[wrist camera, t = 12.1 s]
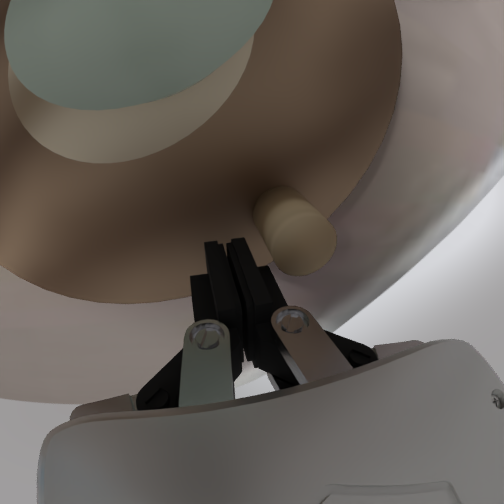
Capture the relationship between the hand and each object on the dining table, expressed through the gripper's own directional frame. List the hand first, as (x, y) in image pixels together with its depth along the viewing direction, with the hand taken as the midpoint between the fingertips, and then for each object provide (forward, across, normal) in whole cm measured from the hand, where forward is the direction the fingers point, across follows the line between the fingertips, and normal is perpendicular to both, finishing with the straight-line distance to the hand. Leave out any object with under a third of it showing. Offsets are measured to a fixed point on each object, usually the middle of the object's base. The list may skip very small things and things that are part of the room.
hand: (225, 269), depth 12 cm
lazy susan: (+3, +4, -10) cm, 11 cm away
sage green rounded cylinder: (+1, +2, -10) cm, 11 cm away
